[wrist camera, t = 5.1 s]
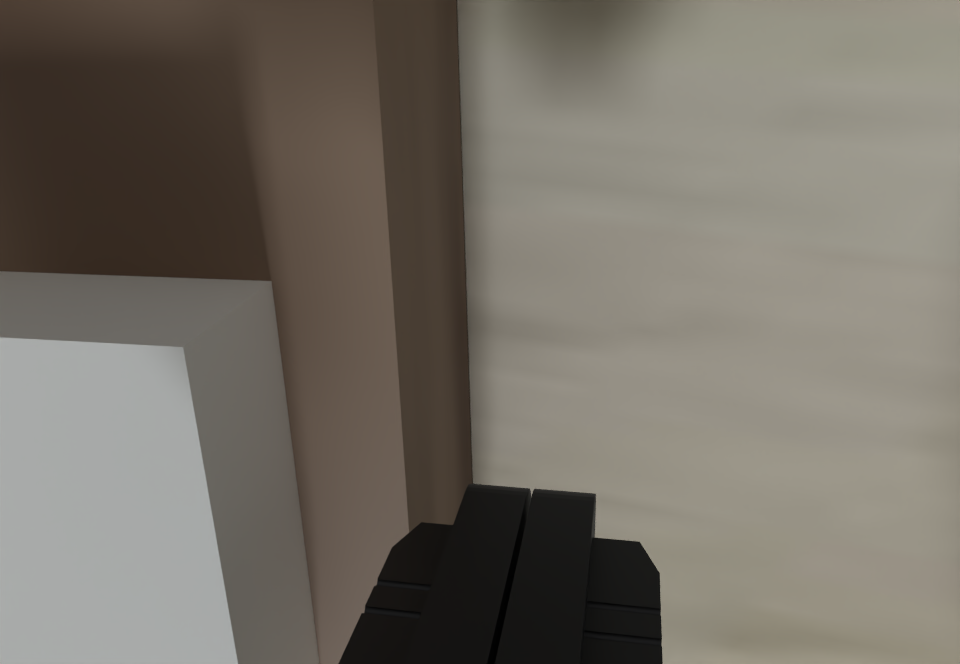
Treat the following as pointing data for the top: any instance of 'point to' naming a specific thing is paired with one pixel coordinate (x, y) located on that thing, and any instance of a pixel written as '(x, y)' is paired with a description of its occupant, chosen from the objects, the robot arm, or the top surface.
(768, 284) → the top surface
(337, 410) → the deck
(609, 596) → the robot arm
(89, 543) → the white rectangular block
